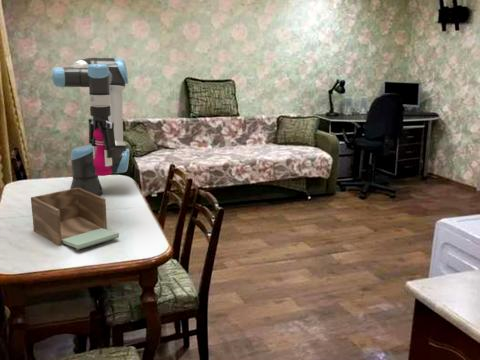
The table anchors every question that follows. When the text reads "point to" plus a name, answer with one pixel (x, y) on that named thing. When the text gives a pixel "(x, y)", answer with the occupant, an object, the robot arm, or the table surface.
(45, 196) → the crate
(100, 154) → the pepper mill
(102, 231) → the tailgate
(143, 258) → the table surface
